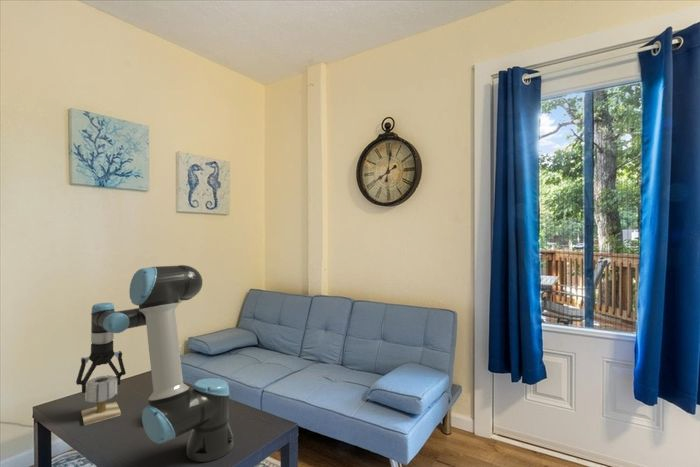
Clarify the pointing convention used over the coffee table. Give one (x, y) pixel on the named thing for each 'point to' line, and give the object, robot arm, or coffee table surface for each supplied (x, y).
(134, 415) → the coffee table surface
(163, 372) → the robot arm
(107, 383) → the studded hollow tube
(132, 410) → the coffee table surface
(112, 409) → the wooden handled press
